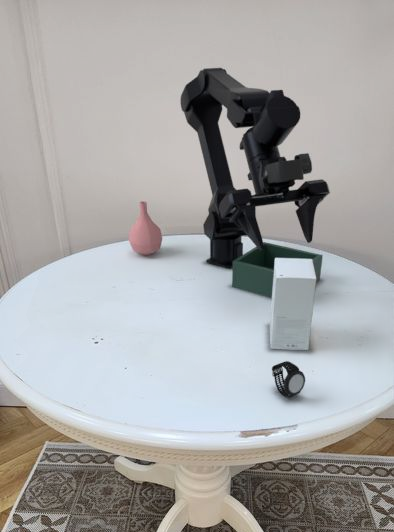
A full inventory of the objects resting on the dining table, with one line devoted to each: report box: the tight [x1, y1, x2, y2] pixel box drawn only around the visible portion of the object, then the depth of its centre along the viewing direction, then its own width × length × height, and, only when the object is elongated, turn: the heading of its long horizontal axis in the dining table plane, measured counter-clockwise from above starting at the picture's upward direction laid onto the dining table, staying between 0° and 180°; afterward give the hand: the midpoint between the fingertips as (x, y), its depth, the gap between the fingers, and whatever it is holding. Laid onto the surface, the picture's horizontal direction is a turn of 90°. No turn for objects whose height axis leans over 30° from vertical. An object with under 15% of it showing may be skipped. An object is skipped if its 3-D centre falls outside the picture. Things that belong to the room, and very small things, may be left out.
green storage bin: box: [231, 241, 324, 299], centre depth 108 cm, size 14×13×6 cm
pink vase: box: [128, 201, 163, 256], centre depth 121 cm, size 8×8×12 cm
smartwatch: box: [271, 360, 306, 399], centre depth 77 cm, size 4×5×5 cm
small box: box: [269, 258, 317, 351], centre depth 88 cm, size 8×6×13 cm
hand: (286, 245), depth 91 cm, fingers open, 9 cm apart
